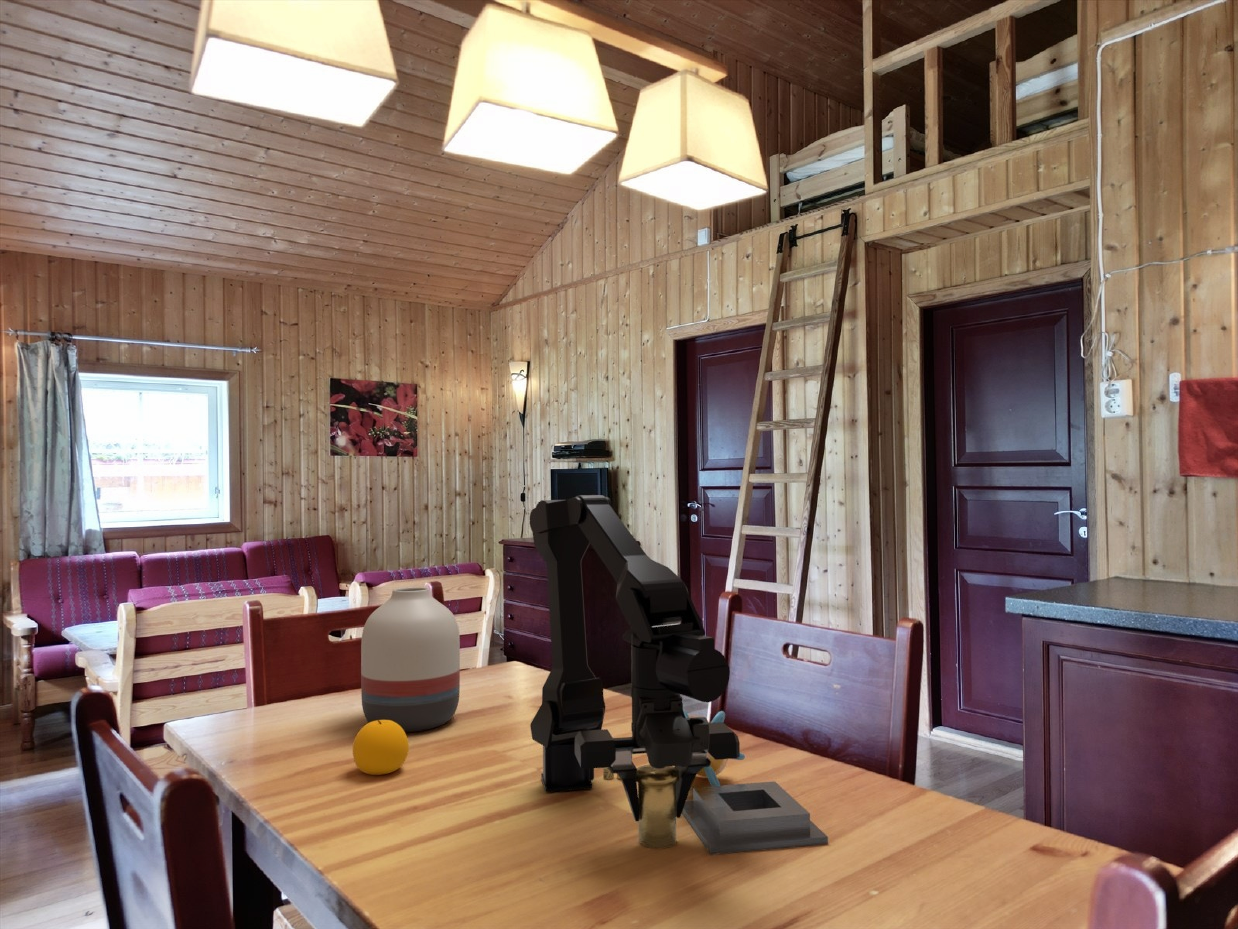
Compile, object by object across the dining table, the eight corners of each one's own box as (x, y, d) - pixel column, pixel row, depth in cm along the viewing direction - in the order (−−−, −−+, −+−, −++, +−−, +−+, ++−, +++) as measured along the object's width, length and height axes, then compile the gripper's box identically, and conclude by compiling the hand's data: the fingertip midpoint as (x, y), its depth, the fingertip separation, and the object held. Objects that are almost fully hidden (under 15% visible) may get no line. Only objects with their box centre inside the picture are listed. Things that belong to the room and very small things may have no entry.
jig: (711, 854, 93) (711, 827, 94) (678, 808, 107) (678, 784, 107) (827, 843, 96) (827, 817, 96) (781, 799, 110) (781, 776, 110)
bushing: (640, 852, 94) (639, 780, 95) (631, 833, 99) (630, 765, 100) (684, 848, 95) (684, 777, 96) (673, 829, 100) (672, 762, 101)
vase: (479, 718, 150) (479, 586, 151) (409, 743, 136) (409, 597, 136) (412, 706, 159) (412, 582, 160) (340, 728, 145) (340, 591, 146)
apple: (419, 770, 123) (419, 719, 123) (371, 785, 117) (371, 731, 117) (389, 759, 128) (389, 709, 128) (342, 772, 122) (342, 720, 122)
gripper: (587, 706, 88) (588, 855, 88) (755, 696, 92) (757, 840, 91) (573, 682, 99) (574, 815, 99) (723, 674, 103) (725, 802, 102)
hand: (657, 818), depth 97 cm, fingers open, 5 cm apart
